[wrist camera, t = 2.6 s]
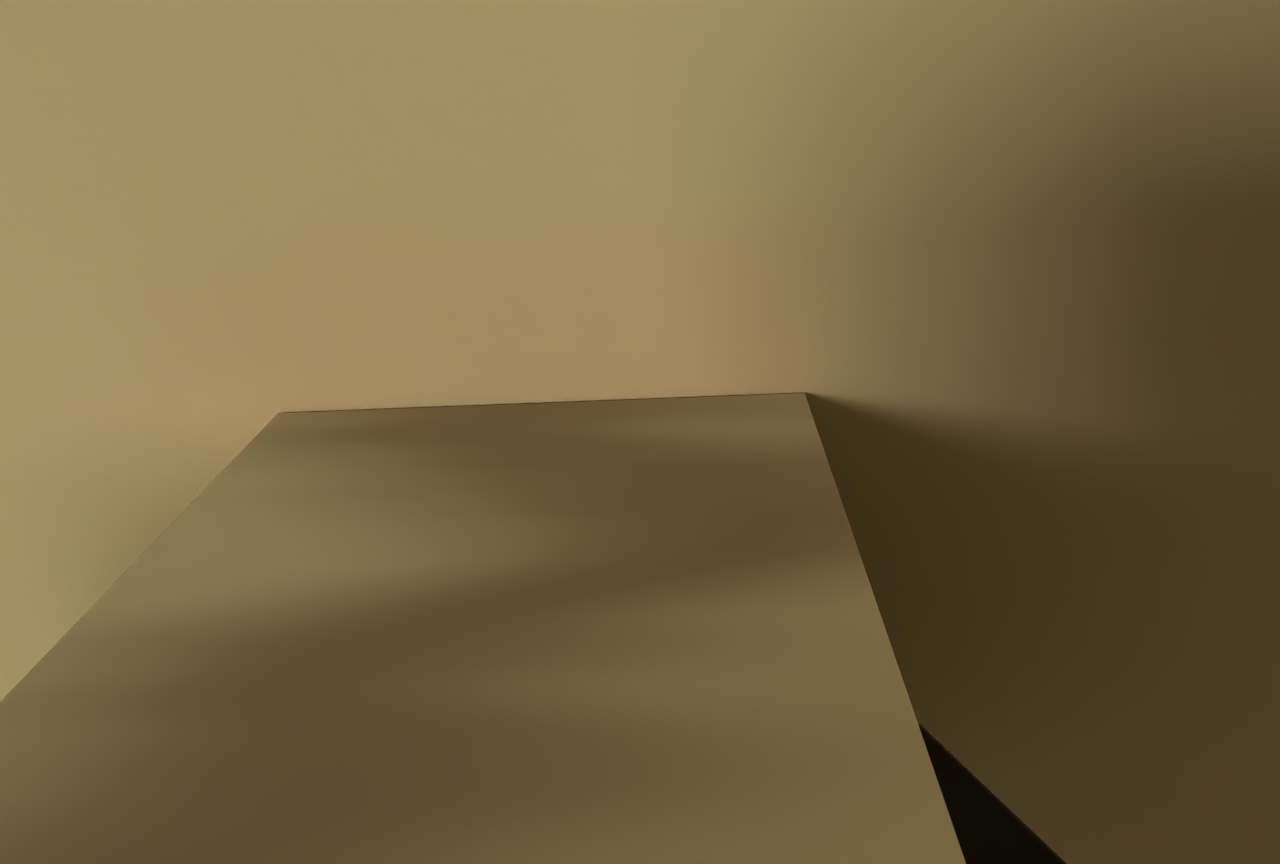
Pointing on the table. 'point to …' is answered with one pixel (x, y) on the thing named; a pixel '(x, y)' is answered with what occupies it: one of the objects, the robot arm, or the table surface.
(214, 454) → the table surface
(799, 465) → the beige cube
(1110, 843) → the table surface
